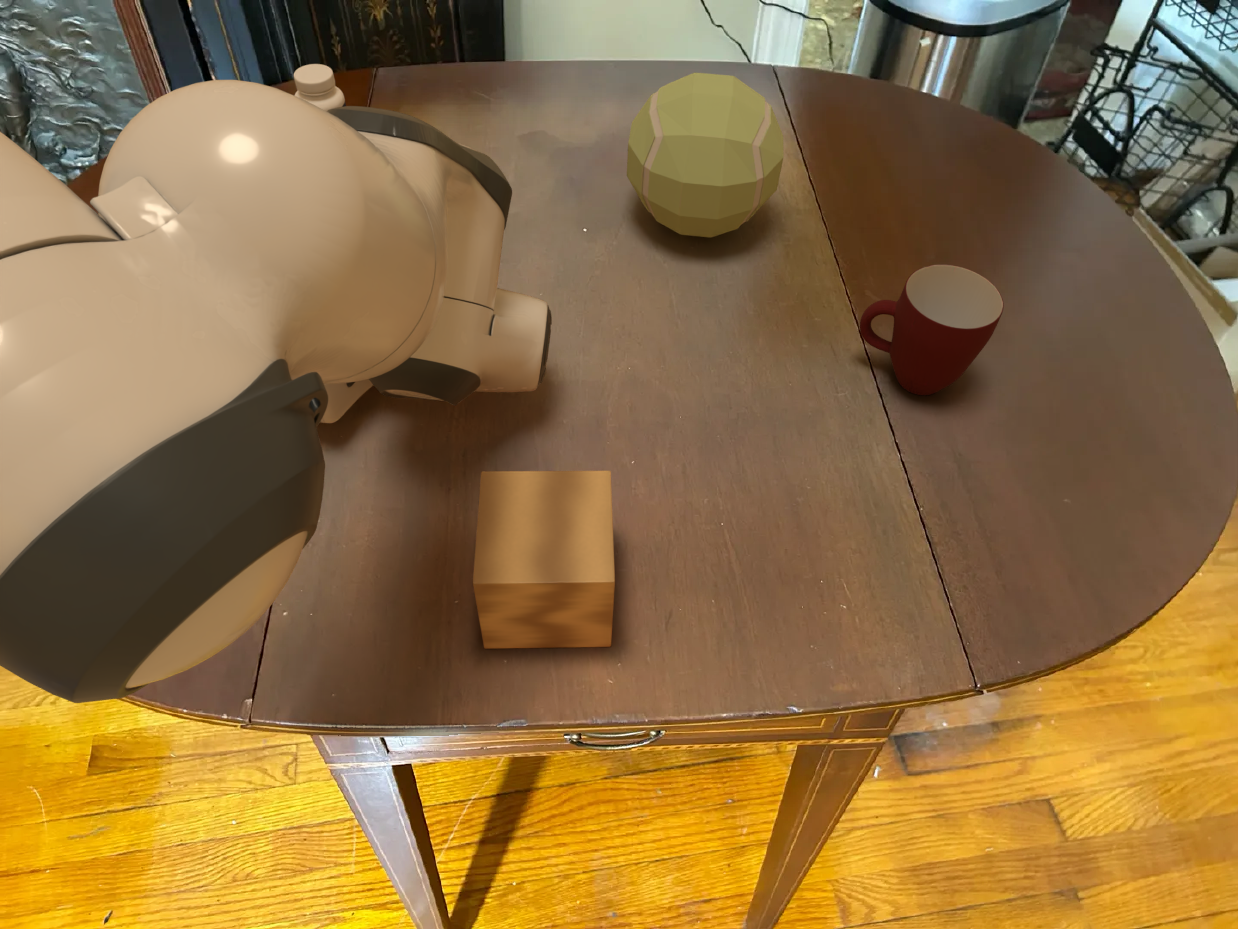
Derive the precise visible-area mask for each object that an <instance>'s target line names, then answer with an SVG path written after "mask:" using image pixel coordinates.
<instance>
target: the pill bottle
mask: <svg viewBox="0 0 1238 929" xmlns="http://www.w3.org/2000/svg"><path fill="white" fill-rule="evenodd" d="M293 79H294V84H295V88H296V90H297V91H296V92H295V93H294V94H293V95H294V96H296V97H299V98H301V99H304V100H306V101H308V102H310V103H312V104H313V105H315V106H317V107H319V108H321V109H323V110H325V111H328V110H329V109H333V108H337V107H344V106H347V104H346V99H345V98H346V97H345V94H344V93H343V91H342V90H341V88H339V87H337V86H336V79H335V75H334V72H333V69H332V68H331V67H330V66H327V65H325V64H320V63H309V64H306V65H302V66H300V67H298V68H297V69H296V70H295V71H294V73H293Z"/></svg>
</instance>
